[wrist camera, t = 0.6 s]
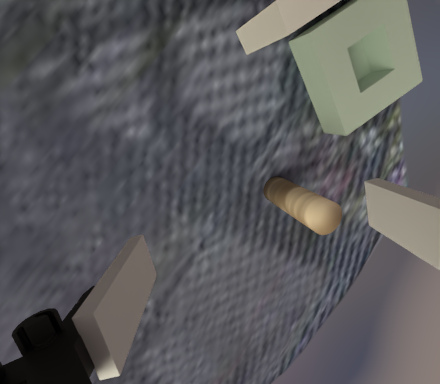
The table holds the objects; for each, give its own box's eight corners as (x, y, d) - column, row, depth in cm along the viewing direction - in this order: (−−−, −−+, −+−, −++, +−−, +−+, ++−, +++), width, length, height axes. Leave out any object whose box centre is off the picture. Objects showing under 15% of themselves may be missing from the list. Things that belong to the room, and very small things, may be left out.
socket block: (286, 42, 35) (309, 32, 30) (367, -12, 36) (401, -29, 32) (322, 132, 41) (346, 135, 36) (391, 83, 42) (422, 80, 37)
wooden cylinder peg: (259, 186, 40) (306, 216, 29) (280, 171, 40) (335, 195, 29) (270, 206, 41) (319, 241, 30) (290, 191, 42) (346, 221, 31)
